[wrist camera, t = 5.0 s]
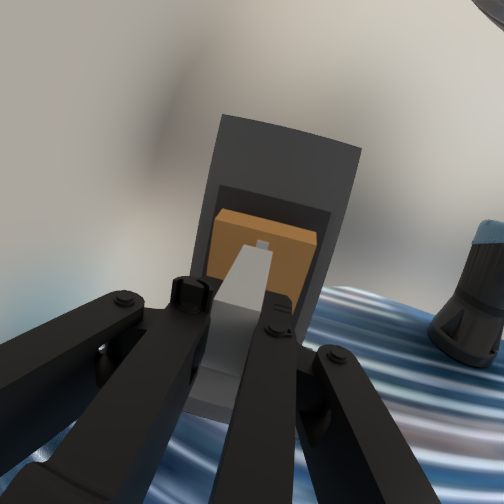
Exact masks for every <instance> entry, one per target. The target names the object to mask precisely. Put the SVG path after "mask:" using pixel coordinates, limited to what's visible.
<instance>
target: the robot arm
mask: <svg viewBox="0 0 504 504" xmlns="http://www.w3.org/2000/svg"><path fill="white" fill-rule="evenodd" d="M472 1H473V2H474V4H475V5H476V6H477V7H478V8H479V9H480V10H481V11H482V12H483V13H484V14H485V15H486V16H487V17H488V18H489V19H490V20H491V21H492V22H493V23H494V24H496V25H497V26H498V27H499V28H500V29H502V30H503V31H504V0H472ZM272 254H273V252H272V251H268V250H264V249H260V248H256V247H252V246H249V245H245V244H244V245H243V247H242V249H241V251H240V252H239V254H238V256H237V258H236V260H235V261H234V263H233V265H232V267H231V269H230V270H229V272H228V274H227V276H226V278H225V279H224V280H222V279H218V278H214V277H211V276H207V275H205V276H203V277H200V278H197V277H192V276H181V277H177V278H175V279H173V283H172V291H171V299H170V303H169V304H168V306H167V307H166V308H165V309H153V308H145V307H144V303H145V301H144V299H143V297H141V296H140V295H138V294H137V293H134V292H131V291H127V290H122V291H114V292H110V293H108V294H106V295H104V296H102V297H99V298H97V299H95V300H93V301H91V302H89V303H86V304H84V305H82V306H80V307H78V308H76V309H74V310H72V311H69V312H67V313H65V314H63V315H61V316H59V317H57V318H54V319H52V320H50V321H48V322H46V323H44V324H42V325H40V326H38V327H36V328H34V329H31V330H30V331H27V332H25V333H23V334H21V335H19V336H17V337H15V338H13V339H11V340H9V341H7V342H5V343H3V344H0V477H1V476H3V475H4V474H5V473H7V472H8V471H9V470H11V469H12V468H13V467H15V466H16V465H17V464H19V463H20V462H22V461H23V460H24V459H26V458H27V457H28V456H30V455H31V454H32V453H34V452H35V451H36V450H38V449H39V448H40V447H42V446H43V445H44V444H45V443H47V442H48V441H49V440H51V439H52V438H53V437H55V436H56V435H57V434H59V433H60V432H61V431H63V430H64V429H65V428H66V427H68V426H69V425H70V424H72V423H73V422H74V421H76V420H77V419H78V418H79V417H80V418H79V419H78V420H77V422H76V423H75V424H74V426H73V427H72V428H71V430H70V431H69V432H68V434H67V435H66V437H65V438H64V439H63V441H62V442H61V443H60V445H59V446H58V447H57V449H56V450H55V452H54V453H53V454H52V456H51V457H50V458H49V459H48V460H47V461H45V462H43V463H42V462H31V463H29V464H27V465H25V466H24V467H23V468H22V469H21V470H20V471H19V472H18V473H17V475H16V476H15V478H14V479H13V480H12V482H11V483H10V484H9V486H8V487H7V488H6V490H5V491H4V492H3V494H2V495H1V497H0V504H142V503H143V501H144V498H145V496H146V494H147V491H148V489H149V487H150V484H151V482H152V480H153V477H154V475H155V473H156V470H157V468H158V466H159V463H160V461H161V459H162V456H163V454H164V452H165V449H166V447H167V445H168V442H169V440H170V438H171V435H172V433H173V431H174V428H175V426H176V424H177V421H178V419H179V417H180V414H181V412H182V410H183V407H184V405H185V403H186V400H187V398H188V396H189V393H190V391H191V389H192V386H193V384H194V382H195V379H196V377H197V375H198V369H199V364H200V362H201V359H202V362H201V366H203V367H207V368H210V369H214V370H217V371H221V372H225V373H228V374H232V375H236V376H240V377H241V381H240V384H239V387H238V391H237V394H236V398H235V404H234V408H233V411H232V415H231V419H230V423H229V427H228V431H227V435H226V439H225V442H224V446H223V450H222V454H221V458H220V461H219V465H218V469H217V473H216V477H215V480H214V484H213V488H212V491H211V495H210V499H209V502H208V504H292V494H293V475H294V453H295V426H296V429H297V433H298V436H299V440H300V443H301V446H302V450H303V453H304V457H305V460H306V463H307V467H308V470H309V474H310V477H311V480H312V484H313V487H314V491H315V494H316V497H317V501H318V504H441V502H440V500H439V499H438V497H437V495H436V493H435V491H434V490H433V488H432V486H431V484H430V482H429V481H428V479H427V477H426V475H425V473H424V472H423V470H422V468H421V466H420V465H419V463H418V461H417V459H416V458H415V456H414V454H413V452H412V451H411V449H410V447H409V445H408V444H407V442H406V440H405V438H404V437H403V435H402V433H401V432H400V430H399V428H398V426H397V425H396V423H395V421H394V420H393V418H392V416H391V415H390V413H389V411H388V410H387V408H386V406H385V405H384V403H383V401H382V400H381V398H380V396H379V395H378V393H377V391H376V390H375V388H374V386H373V385H372V383H371V381H370V380H369V378H368V376H367V375H366V373H365V372H364V370H363V368H362V367H361V365H360V363H359V362H358V360H357V359H356V357H355V356H354V355H353V354H352V353H351V352H350V351H348V350H347V349H346V348H343V347H341V346H338V345H331V344H330V345H323V346H321V347H319V349H318V351H317V352H315V351H312V350H310V349H308V348H306V347H304V346H302V345H301V344H299V343H298V342H297V341H296V333H295V331H294V330H293V329H292V301H291V300H290V298H289V297H288V296H287V295H283V294H279V293H275V292H271V291H267V290H265V289H266V284H267V279H268V274H269V269H270V264H271V259H272ZM503 327H504V223H503V222H499V221H494V220H484V221H482V222H481V223H480V225H479V227H478V230H477V232H476V235H475V237H474V240H473V241H472V247H471V250H470V253H469V256H468V258H467V261H466V264H465V267H464V269H463V272H462V274H461V277H460V280H459V282H458V285H457V287H456V290H455V292H454V294H453V296H452V297H451V298H450V300H449V301H448V302H447V303H446V304H445V305H444V306H443V308H442V309H441V310H440V311H439V312H438V313H437V314H436V316H435V317H434V318H433V320H432V322H431V324H430V326H429V328H428V334H429V336H430V338H431V339H432V341H433V342H434V343H435V344H436V345H437V346H438V347H439V348H440V349H441V350H442V351H444V352H445V353H446V354H448V355H449V356H451V357H453V358H454V359H456V360H458V361H460V362H462V363H464V364H467V365H470V366H474V367H479V368H485V367H489V366H490V365H491V364H492V363H493V361H494V359H495V358H496V356H497V354H498V350H499V346H500V342H501V336H502V332H503ZM103 344H105V348H104V349H102V350H99V349H98V348H100V347H101V346H102V345H103Z"/></svg>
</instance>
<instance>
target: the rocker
mask: <svg viewBox="0 0 504 504" xmlns="http://www.w3.org/2000/svg"><path fill="white" fill-rule="evenodd" d="M244 244H245V245H249V246H252V247H256V248H260V249H264V250H268V251H272V252H273V254H272V259H271V264H270V269H269V274H268V279H267V284H266V289H265V290H267V291H271V292H275V293H279V294H283V295H287V296H288V297H289V298H290V300H291V301H292V315H293V312H294V309H295V307H296V304H297V301H298V298H299V295H300V293H301V290H302V287H303V284H304V281H305V278H306V276H307V273H308V270H309V267H310V264H311V261H312V258H313V255H314V252H315V249H316V246H317V239H316V232H313V231H309V230H306V229H302V228H298V227H294V226H290V225H287V224H283V223H279V222H275V221H271V220H267V219H263V218H259V217H255V216H251V215H247V214H243V213H239V212H235V211H231V210H227V209H222V210H221V211H220V213H219V214H218V215H217V217H216V218H215V220H214V227H213V233H212V240H211V246H210V253H209V260H208V267H207V274H206V275H207V276H211V277H214V278H218V279H222V280H224V279H225V278H226V276H227V274H228V272H229V270H230V269H231V267H232V265H233V263H234V261H235V260H236V258H237V256H238V254H239V252H240V251H241V249H242V247H243V245H244Z"/></svg>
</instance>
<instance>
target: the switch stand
mask: <svg viewBox="0 0 504 504" xmlns="http://www.w3.org/2000/svg"><path fill="white" fill-rule="evenodd" d="M361 150H362V148H359V147H356V146H352V145H349V144H346V143H343V142H339V141H336V140H333V139H329V138H326V137H322V136H318V135H315V134H311V133H307V132H303V131H299V130H295V129H291V128H287V127H283V126H279V125H274V124H270V123H265V122H260V121H255V120H251V119H246V118H241V117H235V116H230V115H224V114H222V117H221V121H220V125H219V130H218V134H217V138H216V143H215V147H214V152H213V156H212V162H211V165H210V170H209V175H208V180H207V184H206V189H205V195H204V200H203V204H202V209H201V215H200V220H199V225H198V230H197V236H196V242H195V247H194V253H193V258H192V265H191V270H190V276H192V277H197V278H200V277H203V276H205V275H206V274H207V267H208V260H209V253H210V246H211V240H212V233H213V227H214V220H215V218H216V217H217V215H218V214H219V213H220V211H221V210H222V209H227V210H231V211H235V212H239V213H243V214H247V215H251V216H255V217H259V218H263V219H267V220H271V221H275V222H279V223H283V224H287V225H290V226H294V227H298V228H302V229H306V230H309V231H313V232H316V239H317V246H316V249H315V252H314V255H313V258H312V261H311V264H310V267H309V270H308V273H307V276H306V278H305V281H304V284H303V287H302V290H301V293H300V295H299V298H298V301H297V304H296V307H295V309H294V312H293V315H292V329H293V330H294V331H295V333H296V341H297V342H298V343H299V344H301V345H302V343H303V340H304V337H305V335H306V332H307V329H308V327H309V324H310V321H311V318H312V315H313V312H314V310H315V307H316V304H317V301H318V298H319V295H320V292H321V289H322V286H323V283H324V280H325V277H326V274H327V271H328V268H329V264H330V262H331V258H332V255H333V252H334V249H335V245H336V242H337V239H338V235H339V232H340V229H341V225H342V222H343V219H344V215H345V212H346V208H347V204H348V200H349V197H350V193H351V190H352V186H353V182H354V178H355V175H356V170H357V167H358V163H359V158H360V155H361ZM306 348H307V347H306ZM308 349H310V350H312V349H311V348H308ZM201 362H202V359H201ZM201 362H200V364H199V369H198V375H197V377H196V379H195V382H194V384H193V386H192V389H191V391H190V393H189V396H188V398H187V400H186V403H185V405H184V407H183V410H182V411H185V412H188V413H191V414H195V415H198V416H201V417H205V418H208V419H212V420H215V421H219V422H223V423H227V424H229V423H230V419H231V415H232V411H233V408H234V404H235V398H236V394H237V391H238V387H239V384H240V381H241V377H240V376H236V375H232V374H228V373H225V372H221V371H217V370H214V369H210V368H207V367H203V366H201ZM295 438H297V439H299V436H298V433H297V429H296V426H295Z"/></svg>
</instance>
